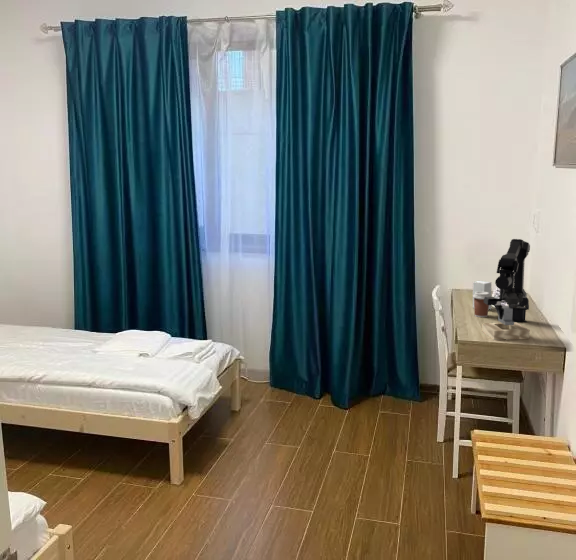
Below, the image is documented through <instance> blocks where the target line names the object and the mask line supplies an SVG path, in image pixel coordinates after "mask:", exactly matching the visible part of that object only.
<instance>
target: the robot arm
mask: <svg viewBox="0 0 576 560" xmlns="http://www.w3.org/2000/svg"><path fill="white" fill-rule="evenodd" d="M530 251H531V244H530V243H529V242H527V241H524V239H522V238H520V239H519V238H513V239H510V242H509V247H508V249H507V252H506V253H505V254H503V255H502V256H501V257H500V259H499V260H498V264H497V268H496V274H499V276H498V277H496V279H495V281H494V284H495V286H496V287H497V288H498V289H499V294H498V295H497V296H498V297H497V298H496V297H495V296H491V297H485V298H484V303H485V304H487V305H491V306H494V308H495V311H496V314H497V317H498V316H499V319H501V317H502V306H503V305H502V303H506V304H507V306H509V307H511V308H513V315H512V321H514V322H516V323H527V319H526V315H527V314H526V312H527V310H530V303H529V302H530V301H529V298H528V297H527V292H526V290H525V289H524V282H525V281H524V280H525V260H526V258H527V257H528V255H529V252H530Z"/></svg>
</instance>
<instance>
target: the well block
mask: <svg viewBox="0 0 576 560" xmlns="http://www.w3.org/2000/svg"><path fill="white" fill-rule="evenodd" d="M481 325H482V327H481V332H482V334H483V333H484V334H485V335H486V336H487V337H489V338H491V339H492V340H493V341H495V340H496V341H501V340H502V339H506V340H529V339H530V333H531V332H530V329H528V328H527V327H525V326H524V325H522V324H520V323H519V322H514V325H504V324H502V323H501V322H482V324H481ZM502 341H503V340H502Z"/></svg>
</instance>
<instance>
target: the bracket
mask: <svg viewBox="0 0 576 560" xmlns="http://www.w3.org/2000/svg"><path fill="white" fill-rule="evenodd" d="M512 315H513V308H511V307H509V305H502V317H501V319H499V316H498V315H497V321H498V323H502V324H504V325H514V321H512Z"/></svg>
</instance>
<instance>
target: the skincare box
mask: <svg viewBox="0 0 576 560" xmlns="http://www.w3.org/2000/svg"><path fill="white" fill-rule="evenodd" d="M475 292H488V293H489V295H490V296H491V297H492V282H491V281H486V280H485V281H483V280H477V281H472V296H473V295H474V294H475ZM472 309H474V298H473V297H472ZM489 309H490V310H492V305H489V308H488V311H490V310H489Z"/></svg>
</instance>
